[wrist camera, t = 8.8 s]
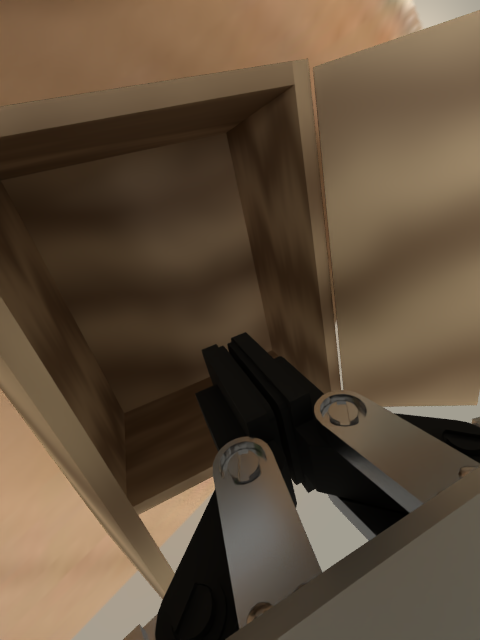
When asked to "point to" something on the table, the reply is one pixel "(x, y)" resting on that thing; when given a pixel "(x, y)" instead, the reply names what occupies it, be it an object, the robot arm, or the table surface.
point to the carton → (165, 253)
